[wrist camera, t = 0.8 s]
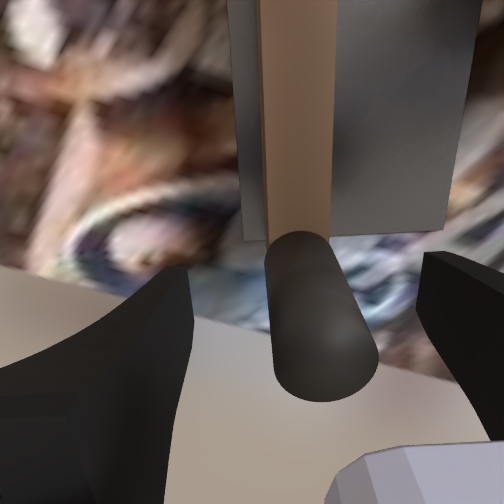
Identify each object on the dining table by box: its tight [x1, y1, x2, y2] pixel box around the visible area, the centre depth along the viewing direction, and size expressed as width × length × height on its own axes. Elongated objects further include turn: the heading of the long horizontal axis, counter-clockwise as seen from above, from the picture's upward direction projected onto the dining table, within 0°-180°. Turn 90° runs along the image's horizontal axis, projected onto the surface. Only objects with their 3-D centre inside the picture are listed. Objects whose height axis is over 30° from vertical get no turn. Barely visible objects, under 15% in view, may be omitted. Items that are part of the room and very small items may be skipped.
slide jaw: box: [256, 0, 379, 402], centre depth 11 cm, size 2×14×9 cm, turn 3°
